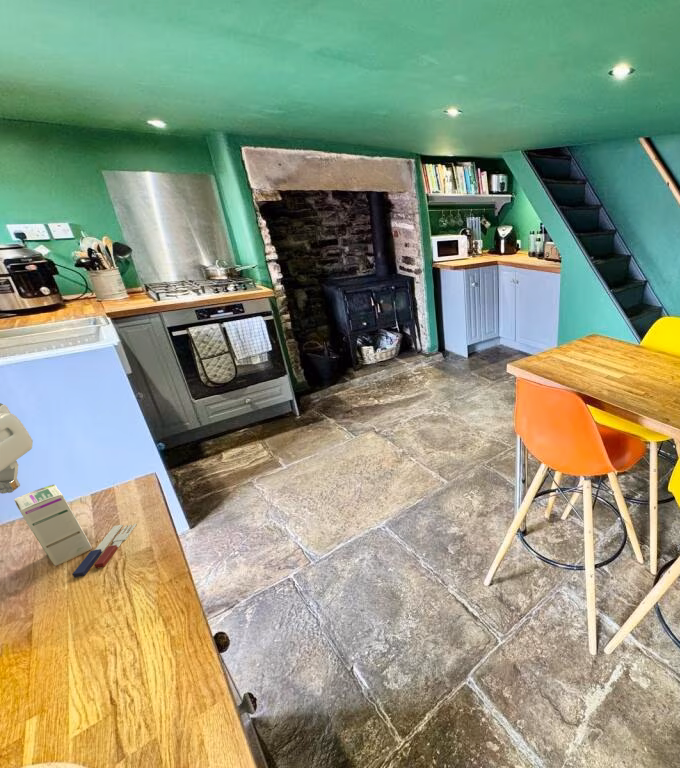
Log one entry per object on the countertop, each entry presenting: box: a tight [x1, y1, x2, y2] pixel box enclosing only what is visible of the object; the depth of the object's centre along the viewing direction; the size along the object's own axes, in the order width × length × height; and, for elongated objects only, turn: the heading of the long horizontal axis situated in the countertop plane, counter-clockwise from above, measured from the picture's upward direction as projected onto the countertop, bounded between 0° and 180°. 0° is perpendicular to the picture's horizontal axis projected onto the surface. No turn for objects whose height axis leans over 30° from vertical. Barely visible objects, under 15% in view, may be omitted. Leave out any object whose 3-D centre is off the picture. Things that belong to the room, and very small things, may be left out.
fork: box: [93, 523, 137, 569], centre depth 84 cm, size 2×12×1 cm, turn 18°
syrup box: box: [13, 484, 93, 567], centre depth 80 cm, size 6×6×14 cm
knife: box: [72, 524, 124, 579], centre depth 83 cm, size 2×14×1 cm, turn 18°
